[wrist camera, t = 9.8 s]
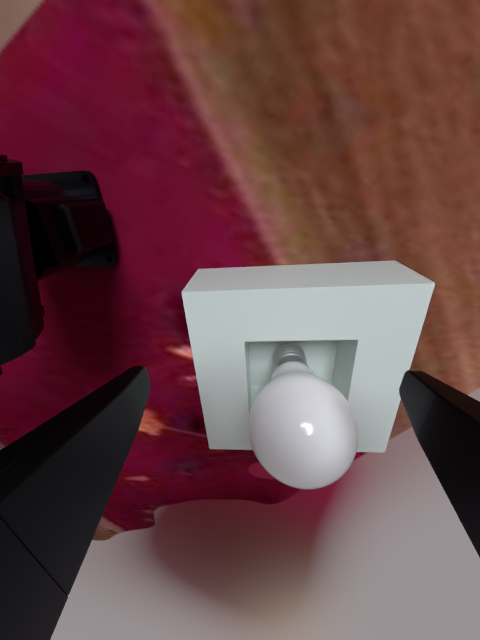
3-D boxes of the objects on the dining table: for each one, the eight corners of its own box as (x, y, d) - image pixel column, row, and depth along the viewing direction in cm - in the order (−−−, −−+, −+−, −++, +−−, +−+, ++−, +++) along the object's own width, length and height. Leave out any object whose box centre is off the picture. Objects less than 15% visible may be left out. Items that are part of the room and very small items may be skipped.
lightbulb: (326, 316, 21) (384, 433, 11) (324, 378, 24) (370, 514, 14) (247, 323, 22) (237, 437, 12) (255, 382, 24) (252, 513, 15)
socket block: (217, 406, 28) (209, 449, 23) (198, 269, 21) (181, 291, 16) (363, 407, 26) (384, 452, 22) (395, 260, 19) (435, 283, 15)
